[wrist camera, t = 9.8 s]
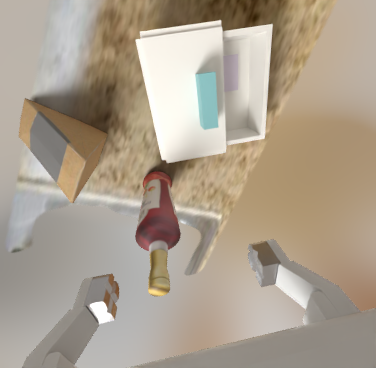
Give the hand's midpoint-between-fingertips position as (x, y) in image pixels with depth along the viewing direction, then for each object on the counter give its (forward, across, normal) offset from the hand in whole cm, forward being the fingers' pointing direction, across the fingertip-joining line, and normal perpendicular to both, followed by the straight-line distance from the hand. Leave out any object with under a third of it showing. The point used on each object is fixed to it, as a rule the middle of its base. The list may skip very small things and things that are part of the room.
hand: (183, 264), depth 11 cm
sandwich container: (+36, +20, -2) cm, 41 cm away
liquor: (+35, +4, +13) cm, 38 cm away
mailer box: (+35, -14, -5) cm, 38 cm away
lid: (+30, -5, -5) cm, 30 cm away
